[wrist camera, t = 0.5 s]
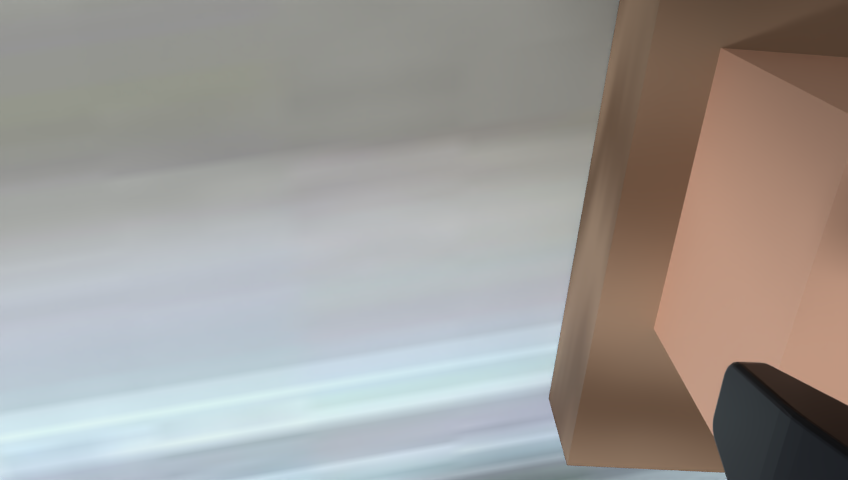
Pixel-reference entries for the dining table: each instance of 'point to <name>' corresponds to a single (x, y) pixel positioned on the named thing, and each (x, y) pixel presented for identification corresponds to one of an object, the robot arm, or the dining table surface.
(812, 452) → the robot arm
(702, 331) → the terracotta block
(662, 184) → the walnut deck
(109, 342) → the dining table surface
